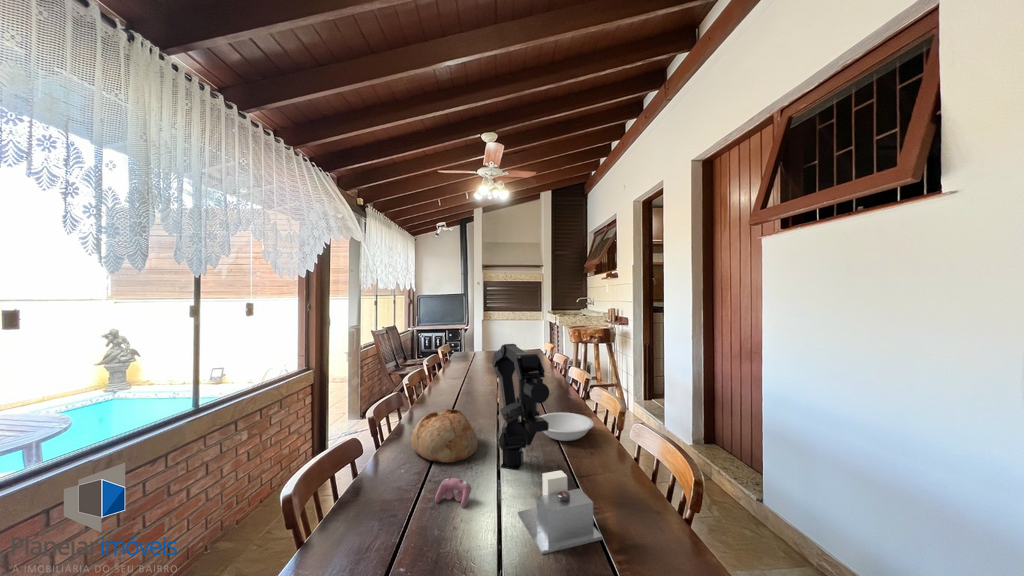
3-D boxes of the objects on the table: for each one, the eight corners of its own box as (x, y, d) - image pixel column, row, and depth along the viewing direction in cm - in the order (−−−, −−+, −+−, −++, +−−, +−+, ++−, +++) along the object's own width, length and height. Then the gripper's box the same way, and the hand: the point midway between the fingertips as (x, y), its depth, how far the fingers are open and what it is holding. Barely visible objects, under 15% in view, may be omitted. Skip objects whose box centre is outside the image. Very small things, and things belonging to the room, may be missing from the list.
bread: (488, 456, 139) (487, 415, 139) (428, 473, 126) (427, 428, 127) (457, 434, 161) (457, 399, 161) (403, 446, 148) (403, 408, 149)
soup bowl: (599, 449, 144) (599, 431, 144) (537, 449, 144) (537, 432, 144) (588, 426, 168) (587, 412, 168) (534, 427, 168) (534, 412, 168)
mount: (517, 514, 102) (517, 476, 102) (570, 503, 107) (570, 467, 107) (541, 554, 86) (540, 509, 86) (602, 539, 91) (601, 496, 91)
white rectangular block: (542, 517, 99) (542, 473, 99) (561, 513, 100) (561, 470, 101) (559, 540, 89) (558, 492, 90) (579, 535, 91) (579, 488, 91)
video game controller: (470, 508, 108) (474, 480, 111) (463, 508, 104) (468, 480, 107) (439, 502, 111) (444, 476, 114) (432, 502, 107) (437, 475, 110)
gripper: (494, 389, 123) (495, 437, 123) (512, 405, 105) (513, 461, 105) (526, 386, 126) (527, 433, 126) (549, 401, 109) (549, 455, 108)
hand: (528, 444), depth 116 cm, fingers closed
